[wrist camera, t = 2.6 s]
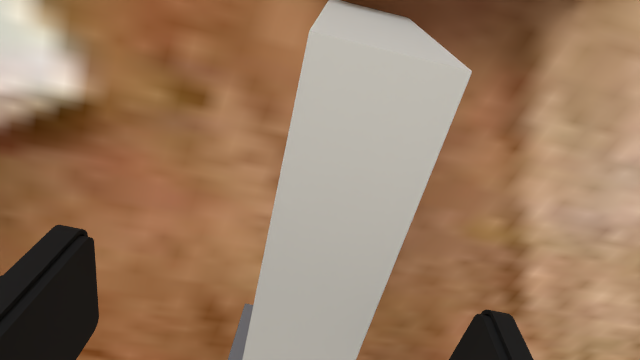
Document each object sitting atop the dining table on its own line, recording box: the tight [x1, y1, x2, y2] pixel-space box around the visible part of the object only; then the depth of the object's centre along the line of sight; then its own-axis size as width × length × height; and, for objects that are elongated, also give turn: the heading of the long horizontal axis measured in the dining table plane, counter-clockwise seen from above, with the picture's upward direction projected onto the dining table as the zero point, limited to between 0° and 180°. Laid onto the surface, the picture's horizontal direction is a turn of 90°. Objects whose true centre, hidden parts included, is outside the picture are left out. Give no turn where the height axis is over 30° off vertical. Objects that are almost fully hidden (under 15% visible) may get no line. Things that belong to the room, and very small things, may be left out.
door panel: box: [228, 0, 472, 360], centre depth 14 cm, size 4×14×9 cm, turn 167°
